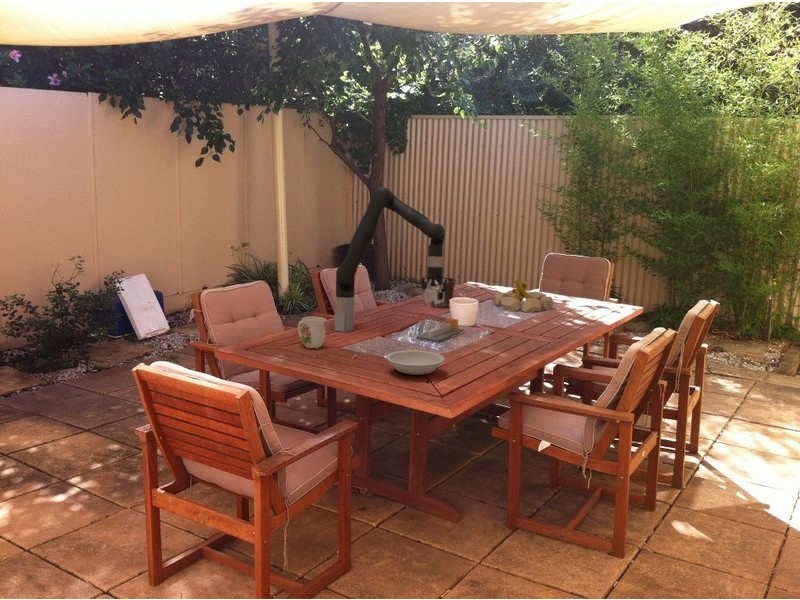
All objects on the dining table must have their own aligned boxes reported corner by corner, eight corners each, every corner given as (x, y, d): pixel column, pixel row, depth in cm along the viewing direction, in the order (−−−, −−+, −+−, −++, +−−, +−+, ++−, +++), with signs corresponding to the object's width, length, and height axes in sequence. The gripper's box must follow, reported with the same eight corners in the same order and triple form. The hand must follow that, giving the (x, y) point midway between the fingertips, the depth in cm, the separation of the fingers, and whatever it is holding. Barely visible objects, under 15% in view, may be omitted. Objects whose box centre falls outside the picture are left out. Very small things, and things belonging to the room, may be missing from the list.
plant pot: (423, 307, 458) (424, 280, 455) (432, 302, 473) (433, 276, 470) (449, 310, 452) (450, 282, 449) (458, 305, 467) (459, 278, 464)
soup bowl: (425, 362, 337) (426, 347, 336) (455, 377, 317) (455, 361, 315) (375, 368, 326) (376, 353, 325) (403, 384, 305) (403, 367, 304)
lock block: (435, 304, 379) (436, 290, 377) (424, 303, 381) (425, 289, 380) (444, 301, 387) (445, 287, 386) (434, 300, 390) (434, 286, 389)
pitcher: (306, 341, 369) (307, 312, 367) (334, 347, 358) (334, 318, 355) (289, 344, 361) (289, 315, 358) (316, 352, 350) (317, 322, 347)
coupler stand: (438, 343, 373) (438, 329, 371) (416, 339, 378) (416, 326, 377) (463, 332, 396) (464, 319, 395) (442, 329, 402) (443, 316, 401)
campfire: (484, 302, 479) (486, 275, 476) (534, 301, 489) (536, 274, 486) (509, 314, 446) (511, 285, 443) (562, 312, 457) (564, 283, 453)
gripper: (418, 265, 381) (418, 299, 384) (445, 267, 374) (444, 301, 377) (425, 263, 387) (425, 296, 390) (451, 265, 380) (451, 299, 383)
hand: (434, 299), depth 383 cm, fingers closed on lock block, 6 cm apart
